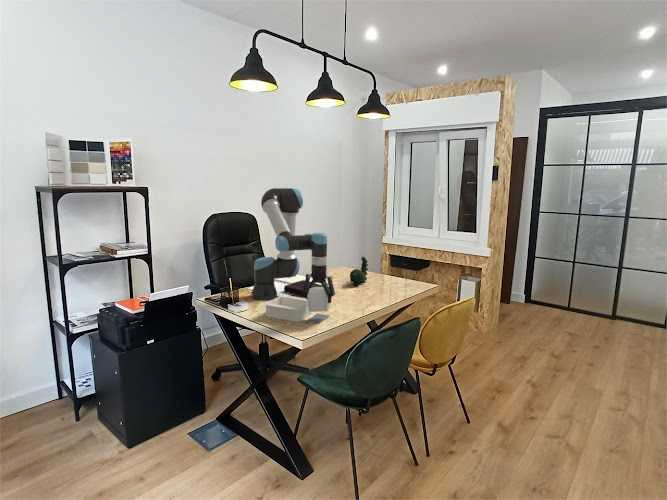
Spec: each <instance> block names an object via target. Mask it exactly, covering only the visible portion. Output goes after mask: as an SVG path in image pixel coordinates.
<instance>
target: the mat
mask: <svg viewBox="0 0 667 500" xmlns="http://www.w3.org/2000/svg"><path fill="white" fill-rule="evenodd" d="M328 318H330V315H329V314H322V313H316V314H314V315H313V316H312V317H310V318H308V319H307V320H306V322H307V323H314V324H320V323H322V322H324V321H325V320H327V319H328Z"/></svg>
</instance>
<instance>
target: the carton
mask: <svg viewBox="0 0 667 500" xmlns="http://www.w3.org/2000/svg"><path fill="white" fill-rule="evenodd" d="M262 305H263V306H265V317H268V318H273V319H279V320H285V321H291V322H295V323H299V322H301V321H303V320H304V319H306V318H307V317H309V316H311V315H312V312H309V311H308V307H307V300H306V297H297V296H291V295H286V294H283V295H280V296H277V297H276V298H274V299H270V300H268V301H267V302H265V303H263V304H262Z"/></svg>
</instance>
